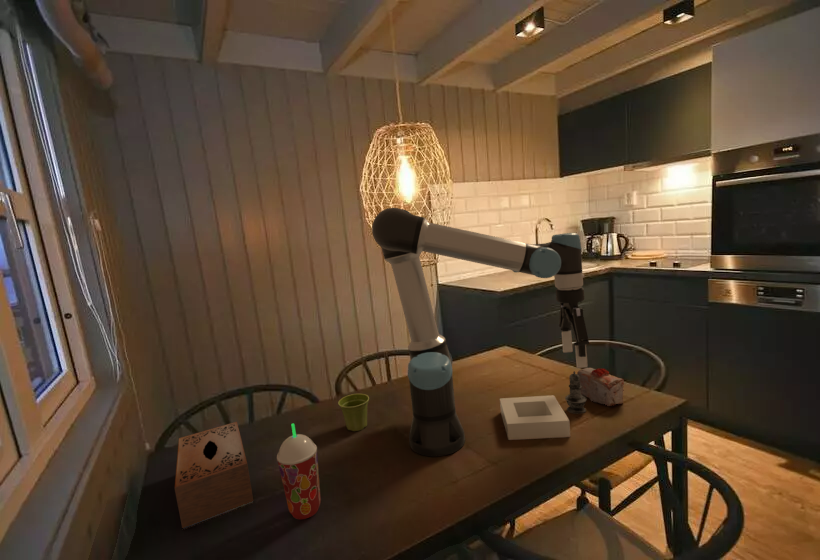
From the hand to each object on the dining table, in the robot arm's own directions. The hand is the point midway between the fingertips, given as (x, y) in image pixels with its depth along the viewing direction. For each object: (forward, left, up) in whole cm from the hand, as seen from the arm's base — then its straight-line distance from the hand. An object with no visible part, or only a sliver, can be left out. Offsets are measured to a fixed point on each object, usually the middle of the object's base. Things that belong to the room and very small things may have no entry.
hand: (574, 359), depth 119 cm
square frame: (-14, -7, -16) cm, 22 cm away
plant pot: (-66, -3, -16) cm, 68 cm away
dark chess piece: (0, 0, -16) cm, 16 cm away
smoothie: (-69, -40, -16) cm, 82 cm away
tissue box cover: (-96, -30, -16) cm, 102 cm away
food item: (+9, +6, -16) cm, 19 cm away
